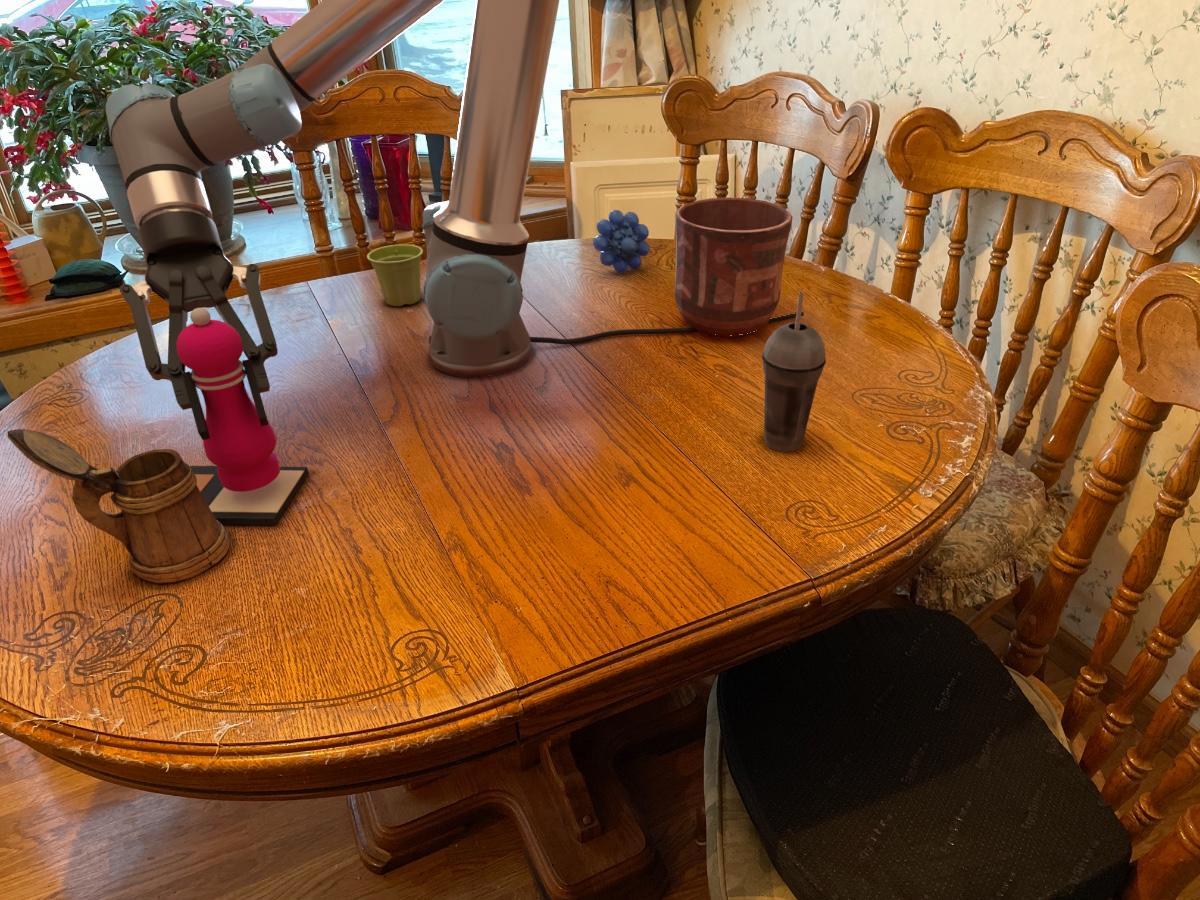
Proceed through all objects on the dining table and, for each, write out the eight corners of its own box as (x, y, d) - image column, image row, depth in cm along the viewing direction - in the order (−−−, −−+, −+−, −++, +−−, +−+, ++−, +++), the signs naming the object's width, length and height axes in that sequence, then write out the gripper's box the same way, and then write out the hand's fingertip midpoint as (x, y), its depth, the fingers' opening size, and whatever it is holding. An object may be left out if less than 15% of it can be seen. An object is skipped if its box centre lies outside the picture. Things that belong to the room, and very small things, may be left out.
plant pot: (364, 306, 136) (355, 258, 131) (396, 288, 143) (388, 241, 138) (410, 313, 133) (402, 264, 128) (439, 294, 140) (433, 247, 135)
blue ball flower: (604, 285, 142) (603, 219, 136) (588, 273, 147) (586, 210, 141) (660, 274, 146) (661, 210, 140) (642, 263, 151) (643, 201, 145)
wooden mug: (82, 561, 80) (6, 410, 70) (222, 517, 86) (169, 371, 76) (86, 614, 73) (3, 455, 64) (237, 562, 79) (182, 409, 69)
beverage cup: (816, 431, 98) (839, 279, 87) (809, 462, 92) (833, 304, 81) (758, 422, 100) (774, 273, 89) (748, 452, 94) (764, 296, 84)
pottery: (796, 315, 129) (810, 205, 119) (754, 356, 116) (766, 237, 107) (700, 295, 137) (705, 191, 127) (651, 331, 125) (653, 219, 115)
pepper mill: (262, 498, 83) (207, 325, 72) (202, 491, 85) (140, 320, 74) (297, 461, 89) (251, 296, 78) (241, 455, 91) (188, 292, 80)
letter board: (309, 473, 93) (307, 465, 92) (275, 526, 84) (273, 517, 84) (186, 472, 93) (184, 464, 93) (141, 524, 85) (138, 515, 84)
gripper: (268, 231, 90) (325, 417, 86) (90, 257, 83) (145, 460, 80) (262, 195, 83) (324, 396, 80) (69, 221, 76) (127, 441, 73)
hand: (234, 428), depth 80 cm, fingers closed on pepper mill, 5 cm apart
